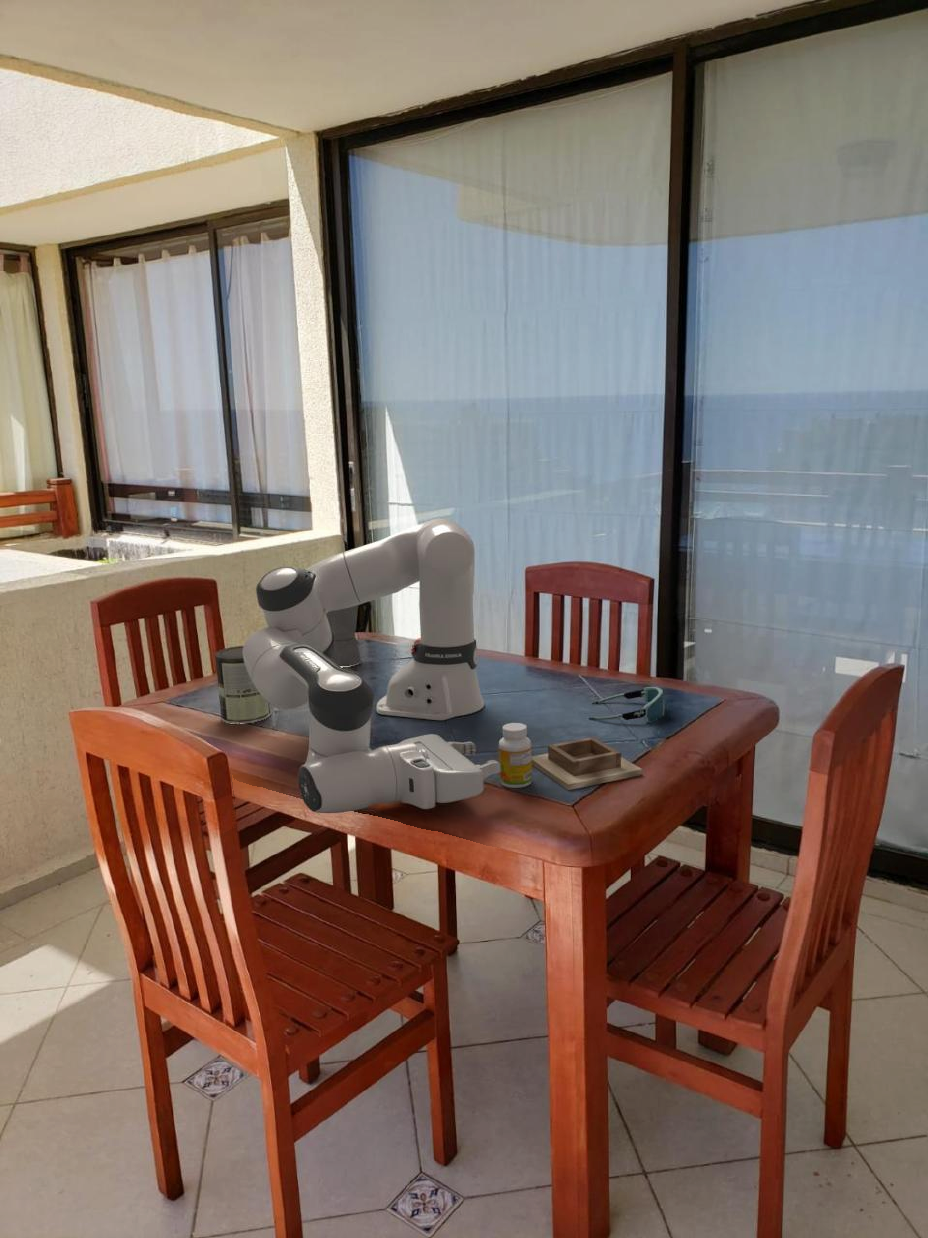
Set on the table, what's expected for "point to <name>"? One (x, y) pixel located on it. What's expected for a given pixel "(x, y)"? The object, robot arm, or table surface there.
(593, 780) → the collar board
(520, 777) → the supplement bottle
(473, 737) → the table surface
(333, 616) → the coffeepot
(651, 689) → the sunglasses
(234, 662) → the coffee can
